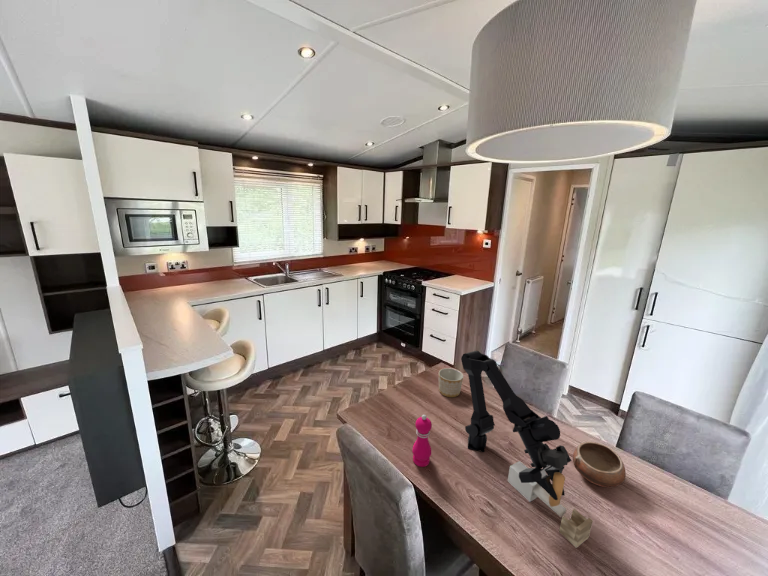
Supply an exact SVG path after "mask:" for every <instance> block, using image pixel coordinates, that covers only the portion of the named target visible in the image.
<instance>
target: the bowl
mask: <svg viewBox="0 0 768 576" xmlns="http://www.w3.org/2000/svg"><path fill="white" fill-rule="evenodd" d="M572 463H573V466H574V468H575V469H576V471H577V472H578V473H579V475H580V476H582V477H583V478H584V479H586V480H587V481H589V482H590V483H592V484H594V485H596V486H599V487H603V488H615V487H618V486H620V485H621V484H623V483H624V481H625V479H626V474H627V473H626V472H627V471H626V467H625V464H624V462H623V460H622V458H621V457H620V456H619V454H618V453H617V452H616V451H615V450H613V448H611V447H609V446H607V445H605V444H603V443H599V442H594V441H584V442H582V443H580V444H579V445H577V446H576V447H575V449H574V451H573V454H572Z"/></svg>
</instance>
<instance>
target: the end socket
mask: <svg viewBox="0 0 768 576" xmlns="http://www.w3.org/2000/svg"><path fill="white" fill-rule="evenodd" d="M571 511H572V512H571V516H570V519H568V518H567V517H566V516H565V515H563V516H562V518H561V522H560V527H559V533H560V534H561V535H562V537H564V539H566V540H567V541H568V542H569V543H570V544H571V545H573V547H575V548H576V549H577V548H578V547H579V546H581V545H582V544H583V543H584V542H585V541H586V540H588V539H589V538H590V535H591V529H592V525H593V521H594V520H592V518H591V517H588V518H586V516H584V514H582V513H580V511H578V510H577V509H576V508H573V509H572V510H571Z"/></svg>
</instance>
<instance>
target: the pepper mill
mask: <svg viewBox="0 0 768 576" xmlns="http://www.w3.org/2000/svg"><path fill="white" fill-rule="evenodd" d="M415 429H416V431H415V433H416V435H417V438H416V440H415V442H414V443H413V446H412V451H411V452H412V461H413V463H414V464H415V465H416V466H417V467H419V468H420V467H421V468H423V467H427V466H428V465H429V464H430V457H431V456H432V447H431V444H430V442H429V437H430V435H431V430H432V421H431V420H430V418H429V417H427V415H426V414H422V415H421V416H420V417H418V418H417V419H416V420H415Z"/></svg>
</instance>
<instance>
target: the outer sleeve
mask: <svg viewBox="0 0 768 576" xmlns="http://www.w3.org/2000/svg"><path fill="white" fill-rule="evenodd" d="M527 468H528V467H527V466H526V465H525V464H524V463H523V462H522V461H517V462H515V463H513V464H511V465H510V466H509V468H508V469H509V470H508V476H507V482H508V483H509V484H510V485H511V486H512V487H514V489H515V490H516V491H518V493H520V495H521V496H523V497H524V498H525V499H526V500H527V501H528V502H529V503H531V502H532V501H534V500H536V499H537V498H539V497H538V496H536V495H535V494H534V493H533V487H534V486H536V485H539V484H538V483H537V482H534V483H521V481H520V478H519V472H521V471H523V470H525V469H527ZM539 486H540V485H539ZM540 487H541V486H540ZM541 488H542V487H541Z"/></svg>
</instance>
